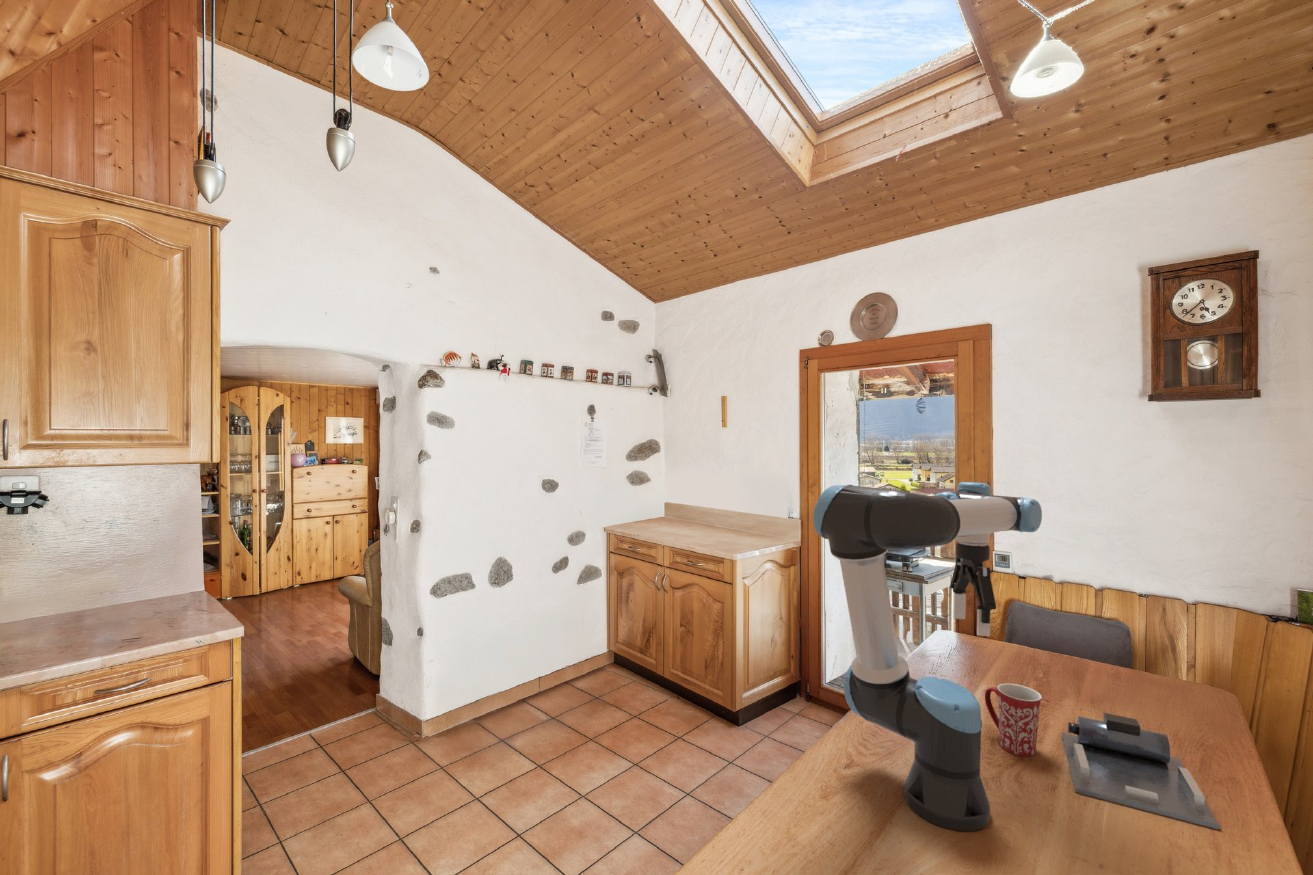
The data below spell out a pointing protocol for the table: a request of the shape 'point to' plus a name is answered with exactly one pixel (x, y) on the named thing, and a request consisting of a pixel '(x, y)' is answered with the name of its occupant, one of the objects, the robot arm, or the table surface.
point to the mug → (1016, 717)
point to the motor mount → (1133, 769)
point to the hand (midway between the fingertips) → (970, 626)
